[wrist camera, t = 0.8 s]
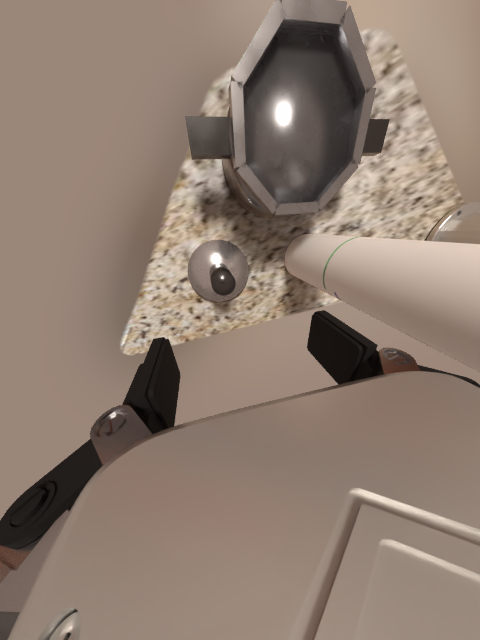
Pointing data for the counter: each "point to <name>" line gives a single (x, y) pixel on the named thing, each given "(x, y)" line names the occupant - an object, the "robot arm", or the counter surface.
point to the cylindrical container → (400, 285)
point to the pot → (295, 111)
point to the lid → (218, 270)
